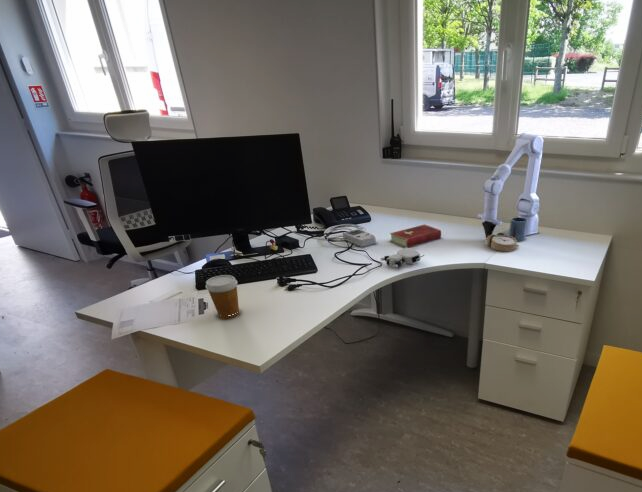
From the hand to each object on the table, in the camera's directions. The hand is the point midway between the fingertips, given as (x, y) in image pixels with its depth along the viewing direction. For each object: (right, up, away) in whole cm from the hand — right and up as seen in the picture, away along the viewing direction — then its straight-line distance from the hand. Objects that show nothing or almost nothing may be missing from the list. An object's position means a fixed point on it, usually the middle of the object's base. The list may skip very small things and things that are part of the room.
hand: (488, 237), depth 209 cm
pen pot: (+14, 0, +4) cm, 14 cm away
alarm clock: (+5, -5, -5) cm, 9 cm away
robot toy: (-39, -17, -23) cm, 48 cm away
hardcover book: (-33, -1, +3) cm, 33 cm away
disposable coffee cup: (-95, -41, -60) cm, 119 cm away
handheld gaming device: (-59, -2, +1) cm, 59 cm away
